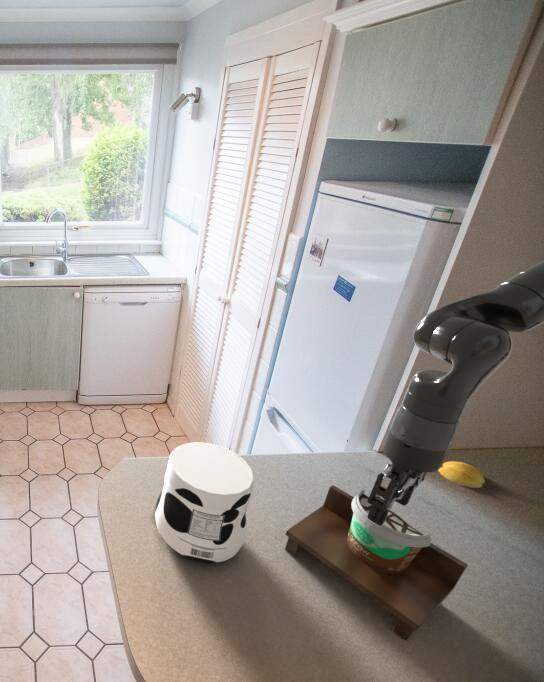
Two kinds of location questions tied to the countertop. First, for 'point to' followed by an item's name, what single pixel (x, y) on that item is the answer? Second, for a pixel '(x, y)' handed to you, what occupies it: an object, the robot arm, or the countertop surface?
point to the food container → (383, 539)
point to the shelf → (386, 588)
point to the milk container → (204, 502)
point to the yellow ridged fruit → (462, 474)
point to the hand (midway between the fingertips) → (387, 511)
